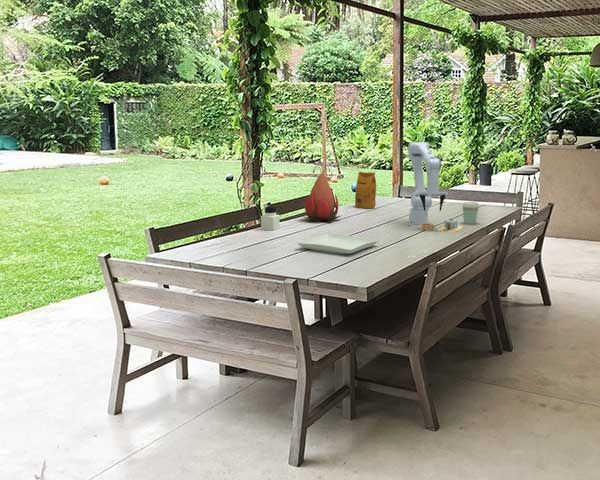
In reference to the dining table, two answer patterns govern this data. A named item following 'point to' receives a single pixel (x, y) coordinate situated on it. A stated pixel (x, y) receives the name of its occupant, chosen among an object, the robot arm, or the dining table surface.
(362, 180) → the coffee package
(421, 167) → the robot arm
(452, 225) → the gear
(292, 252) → the dining table surface
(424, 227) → the loose gear
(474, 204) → the coffee cup
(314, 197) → the decorative flower
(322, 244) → the square plate
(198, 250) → the dining table surface
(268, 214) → the medicine bottle
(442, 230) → the gear board
